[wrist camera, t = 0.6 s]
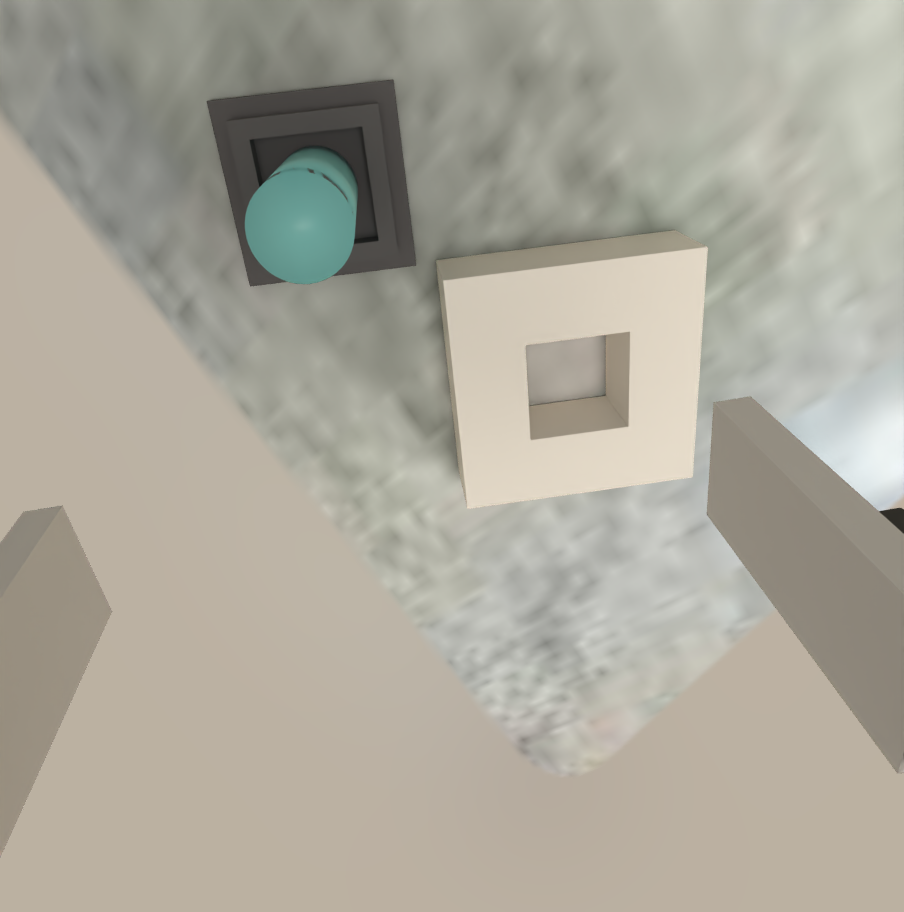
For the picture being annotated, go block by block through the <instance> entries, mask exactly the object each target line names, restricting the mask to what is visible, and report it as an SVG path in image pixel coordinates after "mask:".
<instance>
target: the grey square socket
mask: <svg viewBox="0 0 904 912" xmlns="http://www.w3.org/2000/svg"><path fill="white" fill-rule="evenodd" d="M207 104H208V108H209V113H210V117H211V121H212V126H213V130H214V134H215V138H216V143H217V147H218V151H219V155H220V160H221V164H222V168H223V173H224V177H225V181H226V185H227V190H228V194H229V198H230V202H231V207H232V211H233V215H234V220H235V224H236V228H237V232H238V237H239V241H240V245H241V249H242V254H243V258H244V262H245V267H246V271H247V275H248V279H249V284H250V286H257V285H265V284H273V283H281V282H288V281H285V280H282V279H280V278H278V277H276V276H274V275H273V274H271V273H270V272H268V271H267V270H266V269H265V268H264V267H263V266H262V265H261V264H260V263H259V262H258V260H257V259H256V258H255V256H254V255H253V253H252V251H251V249H250V247H249V245H248V241H247V238H246V233H245V215H246V211H247V207H248V205H249V202H250V200H251V198H252V197H253V195H254V194H255V192H256V191H257V190H258V189H259V187H260V186H261V185H262V184H263V183H264V182H265V181H266V180H267V179H268V178H269V177H270V176H271V175H272V174H273V173H274V172H275V170H276V169H277V168H278V167H279V166H280V165H281V164H282V163H283V162H284V161H285V160H286V159H287V158H288V157H289V156H290V155H291V154H292V153H293V152H295V151H296V150H298V149H300V148H303V147H307V146H323V147H327V148H330V149H332V150H334V151H336V152H337V153H339V154H340V155H342V156H343V157H344V158H345V159H346V160H347V162H348V163H349V164H350V166H351V167H352V169H353V171H354V173H355V176H356V179H357V184H358V199H357V212H356V225H355V238H354V245H353V248H352V251H351V254H350V256H349V258H348V260H347V261H346V263H345V264H344V265H343V267H342V268H341V269H340V270H339V271H338V272H337V273H335V274H334V275H332V276H337V275H345V274H353V273H361V272H369V271H377V270H385V269H393V268H401V267H408V266H416V260H415V252H414V243H413V235H412V227H411V219H410V211H409V203H408V195H407V186H406V178H405V170H404V162H403V154H402V146H401V138H400V130H399V121H398V113H397V105H396V97H395V89H394V81H393V80H387V81H378V82H369V83H360V84H352V85H343V86H334V87H325V88H317V89H308V90H299V91H290V92H282V93H273V94H264V95H255V96H247V97H238V98H229V99H220V100H212V101H207Z"/></svg>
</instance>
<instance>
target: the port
mask: <svg viewBox="0 0 904 912" xmlns="http://www.w3.org/2000/svg"><path fill="white" fill-rule="evenodd" d="M707 250H708V247H707V246H705V245H703V244H701V243H699V242H697V241H695V240H693V239H691V238H689V237H687V236H685V235H683V234H681V233H679V232H677V231H675V230H672V231H664V232H656V233H648V234H640V235H632V236H624V237H616V238H608V239H600V240H592V241H584V242H576V243H568V244H560V245H552V246H544V247H536V248H528V249H520V250H512V251H504V252H496V253H489V254H481V255H473V256H465V257H457V258H449V259H441V260H436V267H437V276H438V286H439V295H440V304H441V313H442V322H443V331H444V340H445V349H446V358H447V367H448V377H449V386H450V395H451V404H452V413H453V422H454V431H455V440H456V449H457V458H458V468H459V474H460V478H461V483H462V487H463V491H464V496H465V500H466V504H467V509H471V508H478V507H485V506H492V505H499V504H506V503H513V502H521V501H528V500H535V499H542V498H549V497H556V496H563V495H570V494H577V493H584V492H591V491H598V490H606V489H613V488H620V487H627V486H634V485H641V484H648V483H655V482H662V481H669V480H676V479H683V478H691V477H693V463H694V448H695V433H696V417H697V402H698V387H699V372H700V356H701V341H702V326H703V311H704V295H705V280H706V265H707ZM600 335H606V396H600V397H592V398H585V399H577V400H570V401H563V402H555V403H548V404H541V405H533V406H529V403H528V384H527V366H526V348H525V345H532V344H539V343H547V342H555V341H562V340H570V339H577V338H585V337H593V336H600Z"/></svg>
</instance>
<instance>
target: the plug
mask: <svg viewBox="0 0 904 912" xmlns="http://www.w3.org/2000/svg"><path fill="white" fill-rule="evenodd" d="M357 199H358V184H357V179H356V176H355V173H354V171H353V169H352V167H351V166H350V164H349V163H348V162H347V160H346V159H345V158H344V157H343V156H342V155H340V154H339V153H337V152H336V151H334V150H332V149H330V148H327V147H323V146H307V147H303V148H300V149H298V150H296V151H295V152H293V153H292V154H291V155H290V156H289V157H288V158H287V159H286V160H285V161H284V162H283V163H282V164H281V165H280V166H279V167H278V168H277V169H276V170H275V172H274V173H273V174H272V175H271V176H270V177H269V178H268V179H267V180H266V181H265V182H264V183H263V184H262V185H261V186H260V187H259V189H258V190H257V191H256V192H255V194H254V195H253V197H252V198H251V200H250V202H249V205H248V207H247V211H246V215H245V233H246V238H247V241H248V245H249V247H250V249H251V251H252V253H253V255H254V256H255V258H256V259H257V260H258V262H259V263H260V264H261V265H262V266H263V267H264V268H265V269H266V270H267V271H268V272H270V273H271V274H273V275H274V276H276V277H278V278H280V279H282V280H285V281H288V282H291V283H296V284H312V283H317V282H320V281H323V280H325V279H327V278H329V277H331V276H332V275H334V274H335V273H337V272H338V271H339V270H340V269H341V268H342V267H343V265H344V264H345V263H346V261H347V260H348V258H349V256H350V254H351V251H352V248H353V245H354V238H355V225H356V212H357Z"/></svg>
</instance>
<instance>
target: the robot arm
mask: <svg viewBox="0 0 904 912" xmlns="http://www.w3.org/2000/svg"><path fill="white" fill-rule="evenodd" d="M707 515H708V517H709V518H710V519H711V521H712V522H713V524H714V525H715V526H716V528H717V529H718V530H719V532H720V533H721V534H722V536H723V537H724V538H725V540H726V541H727V543H728V544H729V545H730V547H731V548H732V549H733V551H734V552H735V553H736V555H737V556H738V557H739V559H740V560H741V562H742V563H743V564H744V566H745V567H746V568H747V570H748V571H749V572H750V574H751V575H752V577H753V578H754V579H755V581H756V582H757V583H758V585H759V586H760V587H761V589H762V590H763V591H764V593H765V594H766V596H767V597H768V598H769V600H770V601H771V602H772V604H773V605H774V606H775V608H776V609H777V610H778V612H779V613H780V614H781V616H782V617H783V618H784V620H785V621H786V623H787V624H788V625H789V627H790V628H791V629H792V631H793V632H794V634H795V635H796V636H797V638H798V639H799V640H800V642H801V643H802V644H803V646H804V647H805V648H806V650H807V651H808V653H809V654H810V655H811V657H812V658H813V659H814V661H815V662H816V663H817V665H818V666H819V668H820V669H821V670H822V672H823V673H824V674H825V676H826V677H827V678H828V680H829V681H830V682H831V684H832V685H833V687H834V688H835V689H836V691H837V692H838V693H839V695H840V696H841V697H842V699H843V700H844V701H845V703H846V704H847V706H848V707H849V708H850V710H851V711H852V712H853V714H854V715H855V716H856V718H857V719H858V721H859V722H860V723H861V725H862V726H863V727H864V729H865V730H866V731H867V733H868V734H869V736H870V737H871V738H872V739H873V741H874V742H875V744H876V745H877V746H878V748H879V749H880V750H881V752H882V753H883V755H884V756H885V757H886V759H887V760H888V761H889V763H890V764H891V765H892V767H893V768H894V769H895V771H896V772H897V773H898V774H899V773H904V509H902V508H896V509H890V510H884V511H878V510H877V509H875V508H874V507H873V506H872V505H871V504H870V503H869V502H868V501H867V500H865V499H864V498H863V497H862V496H861V495H860V494H859V493H858V492H857V491H855V490H854V489H853V488H852V487H851V486H850V485H849V484H848V483H846V482H845V481H844V480H843V479H842V478H841V477H840V476H839V475H838V474H836V473H835V472H834V471H833V470H832V469H831V468H830V467H829V466H828V465H826V464H825V463H824V462H823V461H822V460H821V459H820V458H819V457H818V456H816V455H815V454H814V453H813V452H812V451H811V450H810V449H809V448H807V447H806V446H805V445H804V444H803V443H802V442H801V441H800V440H799V439H797V438H796V437H795V436H794V435H793V434H792V433H791V432H790V431H789V430H787V429H786V428H785V427H784V426H783V425H782V424H781V423H780V422H778V421H777V420H776V419H775V418H774V417H773V416H772V415H771V414H770V413H768V412H767V411H766V410H765V409H764V408H763V407H762V406H761V405H760V404H758V403H757V402H756V401H755V400H754V399H753V398H752V397H751V396H750V397H744V398H738V399H731V400H725V401H719V402H714V404H713V421H712V437H711V454H710V470H709V486H708V503H707ZM111 613H112V611H111V608H110V606H109V604H108V602H107V600H106V598H105V595H104V593H103V591H102V589H101V587H100V585H99V582H98V580H97V578H96V576H95V574H94V572H93V570H92V568H91V565H90V563H89V561H88V559H87V557H86V555H85V553H84V551H83V548H82V546H81V544H80V542H79V540H78V538H77V535H76V533H75V531H74V529H73V527H72V525H71V523H70V521H69V518H68V516H67V514H66V512H65V510H64V508H63V506H57V507H51V508H44V509H38V510H32V511H25V512H23V513H22V515H21V516H20V517H19V519H18V520H17V521H16V523H15V524H14V526H13V527H12V528H11V530H10V531H9V532H8V534H7V535H6V536H5V537H4V539H3V540H2V541H1V543H0V857H1V854H2V852H3V850H4V848H5V846H6V843H7V841H8V839H9V837H10V835H11V833H12V830H13V828H14V826H15V824H16V822H17V819H18V817H19V815H20V813H21V811H22V808H23V806H24V804H25V802H26V800H27V797H28V795H29V793H30V791H31V789H32V786H33V784H34V782H35V780H36V777H37V775H38V773H39V771H40V769H41V766H42V764H43V762H44V760H45V758H46V756H47V753H48V751H49V749H50V747H51V745H52V742H53V740H54V738H55V736H56V733H57V731H58V729H59V727H60V725H61V723H62V720H63V718H64V716H65V714H66V712H67V709H68V707H69V705H70V703H71V701H72V698H73V696H74V694H75V692H76V690H77V687H78V685H79V683H80V681H81V679H82V676H83V674H84V672H85V670H86V668H87V665H88V663H89V661H90V659H91V657H92V654H93V652H94V650H95V648H96V646H97V643H98V641H99V639H100V637H101V634H102V632H103V630H104V628H105V626H106V624H107V621H108V619H109V617H110V615H111Z"/></svg>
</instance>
